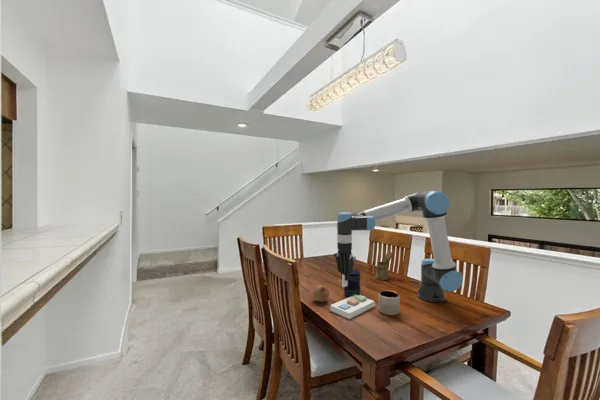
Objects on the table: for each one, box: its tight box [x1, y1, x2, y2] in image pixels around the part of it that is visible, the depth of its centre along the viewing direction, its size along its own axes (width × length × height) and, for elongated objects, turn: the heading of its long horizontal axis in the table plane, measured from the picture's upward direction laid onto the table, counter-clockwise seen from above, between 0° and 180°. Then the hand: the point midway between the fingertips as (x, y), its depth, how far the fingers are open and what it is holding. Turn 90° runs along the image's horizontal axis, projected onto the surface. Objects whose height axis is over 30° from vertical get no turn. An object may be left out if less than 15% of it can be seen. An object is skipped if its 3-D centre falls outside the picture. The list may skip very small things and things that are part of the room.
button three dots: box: [347, 298, 359, 306], centre depth 154 cm, size 5×5×3 cm
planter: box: [377, 289, 401, 316], centre depth 150 cm, size 11×11×10 cm
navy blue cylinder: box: [343, 268, 361, 298], centre depth 173 cm, size 10×10×15 cm
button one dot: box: [338, 304, 351, 310], centre depth 150 cm, size 5×5×3 cm
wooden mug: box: [375, 251, 393, 281], centre depth 204 cm, size 9×14×18 cm, turn 118°
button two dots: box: [355, 294, 368, 302], centre depth 159 cm, size 5×5×3 cm
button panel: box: [329, 295, 376, 320], centre depth 154 cm, size 13×22×3 cm, turn 131°
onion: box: [312, 285, 330, 303], centre depth 165 cm, size 10×9×10 cm
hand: (344, 286), depth 149 cm, fingers closed
